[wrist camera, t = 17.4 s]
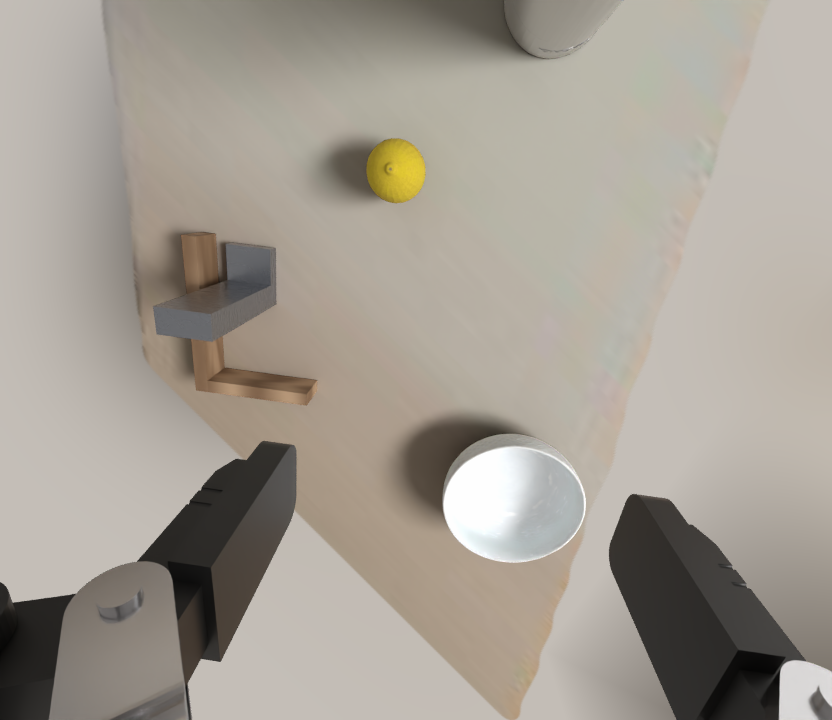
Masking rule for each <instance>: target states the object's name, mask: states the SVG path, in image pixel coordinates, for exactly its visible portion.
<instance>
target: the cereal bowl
mask: <svg viewBox="0 0 832 720" xmlns="http://www.w3.org/2000/svg"><path fill="white" fill-rule="evenodd" d="M442 497H443V498H442V507H443V513H444V517H445V520H446V523H447V525H448V527H449V529H450V530H451V532H452V534H453V535H454V536H455V538H456V539H457V540H458V541H459V542H460V543H461V544H462V545H464V546H465V547H466V548H468V549H469V550H470V551H472V552H474V553H476V554H478V555H480V556H482V557H485V558H488V559H491V560H496V561H501V562H525V561H531V560H535V559H539V558H542V557H544V556H547V555H549V554H551V553H553V552H555V551H557V550H558V549H560V548H562V547H563V546H564V545H565V544H567V543H568V542H569V541H570V540H571V539H572V537H573V536H574V535H575V534H576V532H577V531H578V529H579V527H580V525H581V523H582V521H583V518H584V515H585V509H586V500H585V494H584V489H583V487H582V484H581V482H580V479H579V477H578V476H577V473H576V472H575V470H574V469H573V467H572V466H571V465H570V463H569V462H568V461H567V460H566V458H565V457H564V456H563V455H562V454H561V453H560V452H558V451H557V450H556V449H555V448H553V447H552V446H551V445H549V444H547V443H545V442H544V441H541V440H539V439H536V438H534V437H530V436H527V435H521V434H500V435H494V436H490V437H487V438H484V439H482V440H479V441H477V442H476V443H474V444H472V445H470V446H469V447H467V448H466V449H465V450H464V451H463V452H461V454H460V455H459V456H458V457H457V458H456V459H455V461H454V462H453V463H452V465H451V467H450V469H449V471H448V473H447V476H446V479H445V483H444V489H443V496H442Z"/></svg>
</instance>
